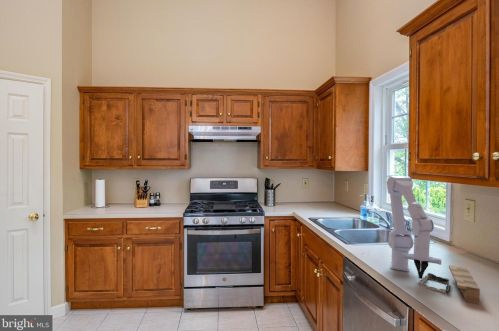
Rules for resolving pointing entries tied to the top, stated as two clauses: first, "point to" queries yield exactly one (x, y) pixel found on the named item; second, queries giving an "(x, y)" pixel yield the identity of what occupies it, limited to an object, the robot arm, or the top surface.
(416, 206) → the robot arm
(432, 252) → the top surface
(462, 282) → the brown ridged block
